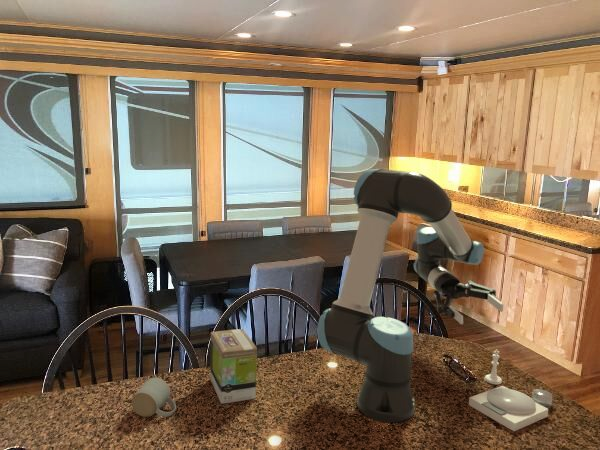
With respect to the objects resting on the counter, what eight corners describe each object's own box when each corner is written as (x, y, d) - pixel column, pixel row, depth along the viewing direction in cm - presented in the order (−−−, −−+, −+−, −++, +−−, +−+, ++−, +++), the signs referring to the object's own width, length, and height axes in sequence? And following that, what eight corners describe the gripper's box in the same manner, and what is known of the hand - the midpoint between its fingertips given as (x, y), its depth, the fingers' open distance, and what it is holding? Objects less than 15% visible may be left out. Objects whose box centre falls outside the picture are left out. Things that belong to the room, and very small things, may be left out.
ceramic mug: (129, 417, 125) (129, 389, 123) (144, 400, 132) (144, 375, 131) (167, 423, 123) (168, 395, 122) (181, 406, 131) (181, 380, 129)
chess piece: (504, 384, 148) (508, 353, 146) (487, 384, 148) (491, 352, 146) (498, 376, 153) (501, 346, 151) (482, 376, 153) (485, 345, 151)
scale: (513, 431, 124) (515, 420, 124) (468, 404, 136) (469, 394, 136) (547, 416, 132) (548, 406, 131) (501, 392, 143) (502, 382, 143)
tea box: (257, 399, 135) (258, 347, 133) (220, 405, 132) (220, 352, 129) (242, 373, 149) (243, 327, 146) (209, 378, 145) (209, 330, 143)
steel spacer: (544, 410, 135) (545, 399, 135) (527, 401, 139) (528, 391, 139) (554, 405, 138) (556, 395, 137) (538, 397, 142) (539, 387, 141)
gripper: (476, 282, 172) (518, 313, 153) (411, 301, 167) (445, 336, 148) (476, 263, 169) (518, 292, 150) (409, 282, 164) (444, 315, 145)
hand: (482, 314), depth 149 cm, fingers open, 13 cm apart
